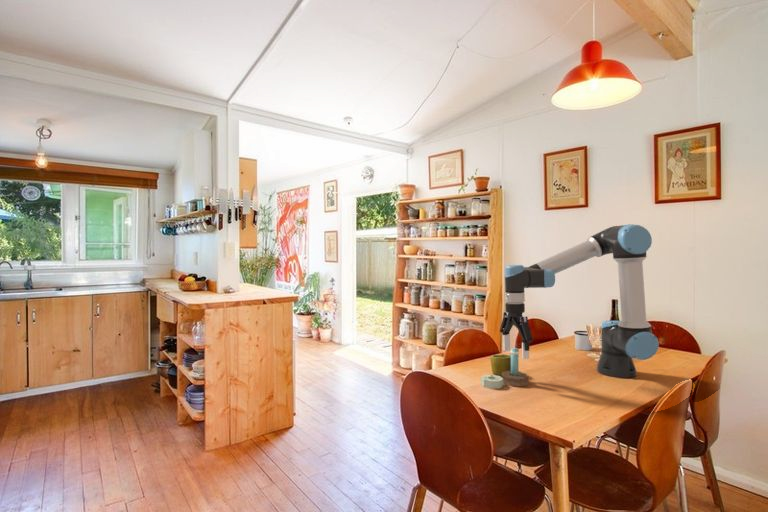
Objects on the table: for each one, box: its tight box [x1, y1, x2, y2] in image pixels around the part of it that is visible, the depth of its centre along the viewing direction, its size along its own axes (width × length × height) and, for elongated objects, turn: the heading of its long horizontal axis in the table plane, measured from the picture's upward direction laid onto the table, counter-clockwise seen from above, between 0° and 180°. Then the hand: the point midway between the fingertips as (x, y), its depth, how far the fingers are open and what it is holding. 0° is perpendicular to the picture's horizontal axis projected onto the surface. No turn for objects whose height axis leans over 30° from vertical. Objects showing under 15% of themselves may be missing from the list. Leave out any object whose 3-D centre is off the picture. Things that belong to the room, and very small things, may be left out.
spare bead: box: [480, 374, 504, 390], centre depth 163 cm, size 8×8×3 cm
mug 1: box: [490, 353, 511, 377], centre depth 179 cm, size 12×10×10 cm
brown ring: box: [501, 370, 529, 388], centre depth 166 cm, size 10×10×3 cm
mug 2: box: [573, 330, 593, 352], centre depth 221 cm, size 12×10×9 cm
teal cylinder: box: [510, 347, 520, 376], centre depth 166 cm, size 3×3×14 cm
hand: (515, 354), depth 166 cm, fingers open, 13 cm apart
